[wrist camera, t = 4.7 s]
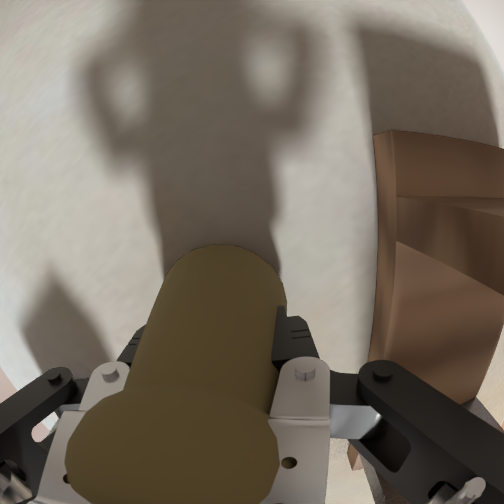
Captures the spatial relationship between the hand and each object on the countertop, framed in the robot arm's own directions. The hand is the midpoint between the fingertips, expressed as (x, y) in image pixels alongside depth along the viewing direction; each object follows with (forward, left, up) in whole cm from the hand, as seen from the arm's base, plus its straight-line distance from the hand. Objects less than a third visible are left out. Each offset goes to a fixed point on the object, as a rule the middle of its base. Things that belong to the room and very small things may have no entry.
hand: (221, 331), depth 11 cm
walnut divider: (-4, +13, -1) cm, 14 cm away
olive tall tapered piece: (0, 0, -2) cm, 3 cm away
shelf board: (+4, +13, -3) cm, 15 cm away
